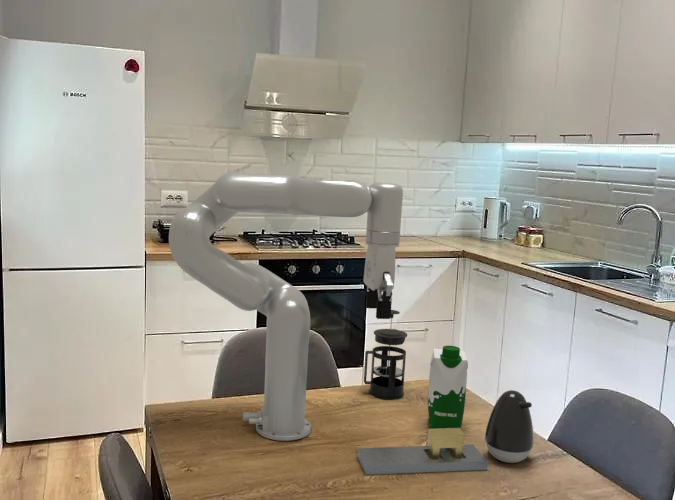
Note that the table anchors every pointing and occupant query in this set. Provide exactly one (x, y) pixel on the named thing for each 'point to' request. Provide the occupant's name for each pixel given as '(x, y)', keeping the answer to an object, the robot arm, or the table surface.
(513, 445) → the pump dispenser
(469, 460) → the grey flat board
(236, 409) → the table surface
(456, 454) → the tan wooden block
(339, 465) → the table surface
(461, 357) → the milk carton
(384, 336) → the french press
